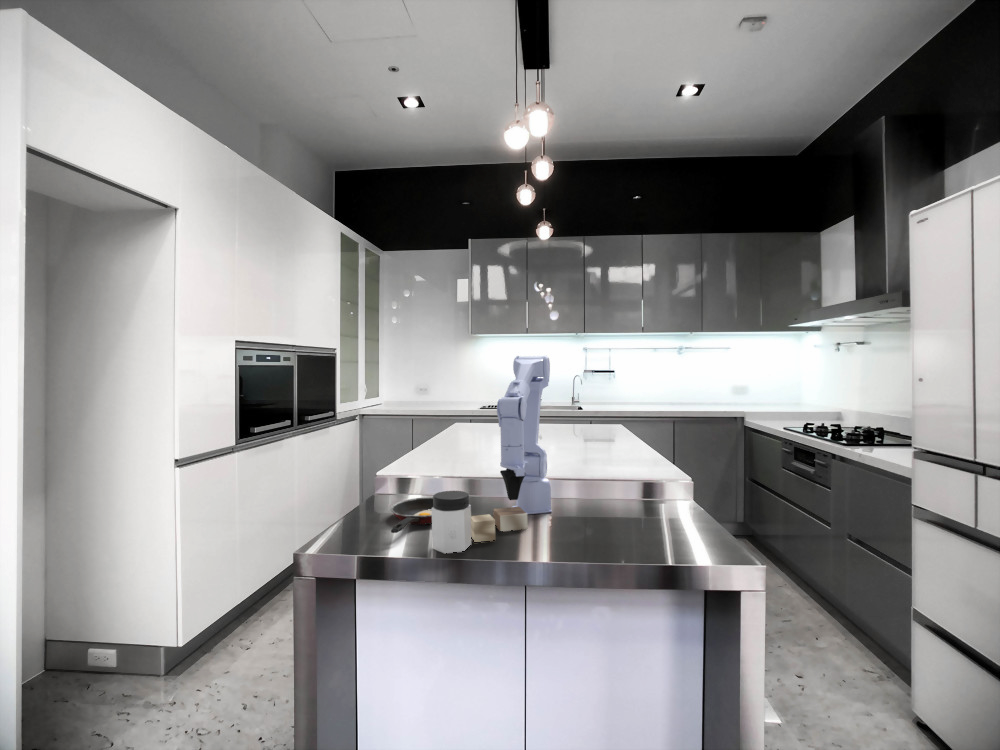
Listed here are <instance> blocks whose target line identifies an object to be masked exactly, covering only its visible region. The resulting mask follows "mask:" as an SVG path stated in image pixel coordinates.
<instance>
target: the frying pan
mask: <svg viewBox="0 0 1000 750" xmlns="http://www.w3.org/2000/svg"><path fill="white" fill-rule="evenodd" d="M432 507H433V497H431V496H428V497H425V496H424V497H415V498H414V497H413V498H409V499H403V500H401V501H398V502H395V503H393V504H392V505H391V506H390V508H389V510H390V511H391V513H393V515H394V516H395V517H396V518H397V519H398V520H400V521H399V522H398V523H396V524H395V525H394V526H392V528H391V530H390V533H392V534H393V533H394V534H397V533H399V532H401V531H403V529H405V527H407V526H408V525H410V524H409V523H411V525H426V524H425V523H432V511H431V510H428V509H432Z"/></svg>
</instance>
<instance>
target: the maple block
mask: <svg viewBox="0 0 1000 750" xmlns="http://www.w3.org/2000/svg"><path fill="white" fill-rule="evenodd" d="M471 537H472V539H473V540H474V542H481V541H490V542H494V541H493V540H495V541H496V526H495V519H494V518H493V515H491V514H477V515H471ZM472 539H471V540H472ZM473 540H472V541H473ZM474 542H473V543H474ZM481 543H482V542H481Z"/></svg>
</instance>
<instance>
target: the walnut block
mask: <svg viewBox="0 0 1000 750" xmlns="http://www.w3.org/2000/svg"><path fill="white" fill-rule="evenodd" d="M492 517H493V518H494V519H495V525H496V526H497V527H496V526H495V527H496V528H497V529H498V531H499V532H500V531H503V532H510V531H511V530H513V531H520V530H521V529H522V530H528V527H529V526H528V514H527V513H526V512H525V511H523V510H522V509H521V508H520V507H512V506H510V507H501V508H493V509H492Z"/></svg>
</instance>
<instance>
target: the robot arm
mask: <svg viewBox="0 0 1000 750" xmlns="http://www.w3.org/2000/svg"><path fill="white" fill-rule="evenodd" d="M512 368H513V369H512V370H513V374H514V377H515V379H514V380H511V382H510V383H509V385H508V387H507V390H506V392H505V394H504V396H502V397H501V398H499V399H498V401H497V404H496V414H497V419H498V427H499V428H500V465H499V466H500V467H501V468H505V469H504V470H503V469H501V470H500V475H501V477H502V479H503V482H504V485H505V489H506V493H507V495H506V496H507V498H508V500H509V501H515V505H512V506H511V507H520V508H521V509H522V510H523V511H525V512H526V513H527V515H534V514H547V513H553V510H552V493H551V491H552V488H551V483H550V480H549V479H548V478H547V473H548V460H547V459H548V454H547V452H546V450H545V449H544V448H543V447H541V445H539V433H540V432H539V430H540V418H541V417H540V416H541V406H542V405H541V404H542V403H541V401H542V396H543V390H544V389H545V388H547V387H548V386H549V383H550V375H551V363H550V358H549V357H548V355H532V356H531V355H528V356H526V355H524V356H521V355H520V356H519V355H516V356H515V357H514V359H513V364H512Z"/></svg>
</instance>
